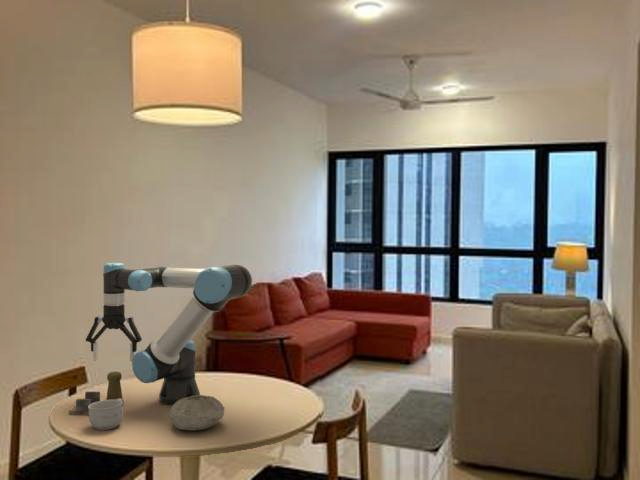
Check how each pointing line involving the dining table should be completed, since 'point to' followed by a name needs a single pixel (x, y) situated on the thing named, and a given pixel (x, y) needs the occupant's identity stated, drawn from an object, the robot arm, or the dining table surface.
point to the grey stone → (196, 412)
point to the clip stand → (85, 403)
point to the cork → (114, 386)
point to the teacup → (106, 413)
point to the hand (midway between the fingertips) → (113, 360)
